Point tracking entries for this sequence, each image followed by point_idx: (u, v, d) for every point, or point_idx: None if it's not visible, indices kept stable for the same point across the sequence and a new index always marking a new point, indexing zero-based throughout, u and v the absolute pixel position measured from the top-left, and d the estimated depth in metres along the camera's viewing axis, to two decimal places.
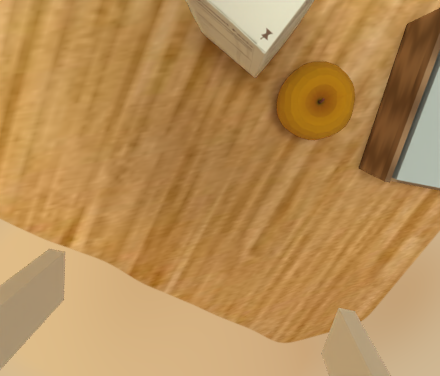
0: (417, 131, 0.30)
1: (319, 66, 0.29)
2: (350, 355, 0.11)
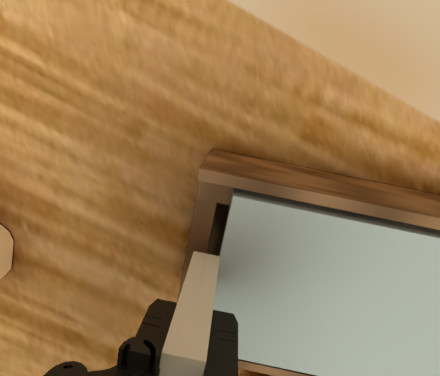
0: None
1: None
2: None
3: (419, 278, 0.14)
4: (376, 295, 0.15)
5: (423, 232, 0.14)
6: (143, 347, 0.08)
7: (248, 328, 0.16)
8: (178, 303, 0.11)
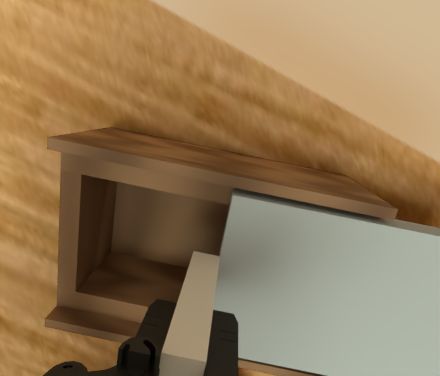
0: None
1: None
2: None
3: (418, 276, 0.14)
4: (376, 293, 0.15)
5: (422, 230, 0.14)
6: (143, 347, 0.08)
7: (248, 327, 0.16)
8: (178, 303, 0.11)
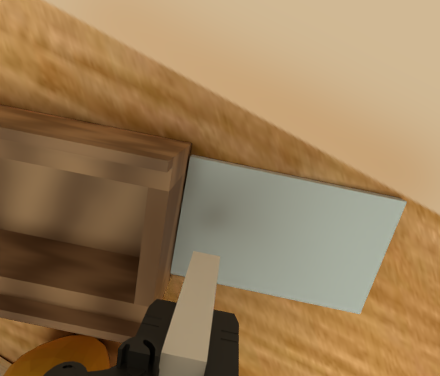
0: (295, 297, 0.23)
1: None
2: None
3: (320, 215, 0.21)
4: (292, 228, 0.21)
5: (322, 183, 0.21)
6: (142, 347, 0.08)
7: None
8: (178, 303, 0.11)
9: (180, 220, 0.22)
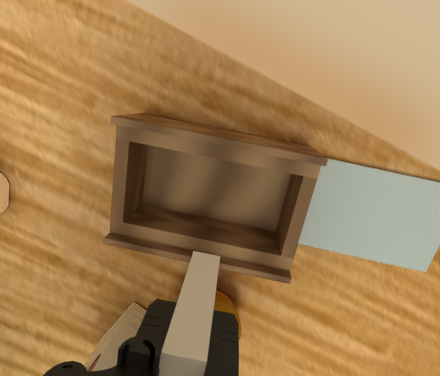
0: (378, 259, 0.31)
1: None
2: None
3: (402, 198, 0.29)
4: (380, 208, 0.29)
5: (404, 174, 0.29)
6: (142, 347, 0.08)
7: (312, 227, 0.31)
8: (178, 303, 0.11)
9: None
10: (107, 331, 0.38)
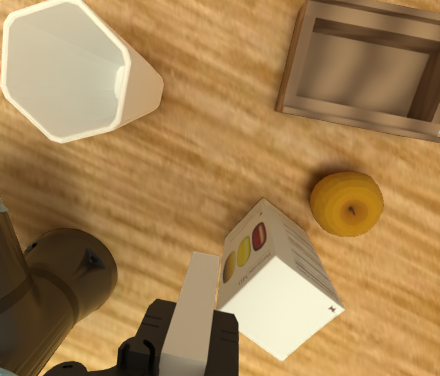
0: None
1: (323, 213, 0.34)
2: None
3: None
4: None
5: None
6: (143, 347, 0.08)
7: None
8: (178, 303, 0.11)
9: None
10: (235, 227, 0.43)
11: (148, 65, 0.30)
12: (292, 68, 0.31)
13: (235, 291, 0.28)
